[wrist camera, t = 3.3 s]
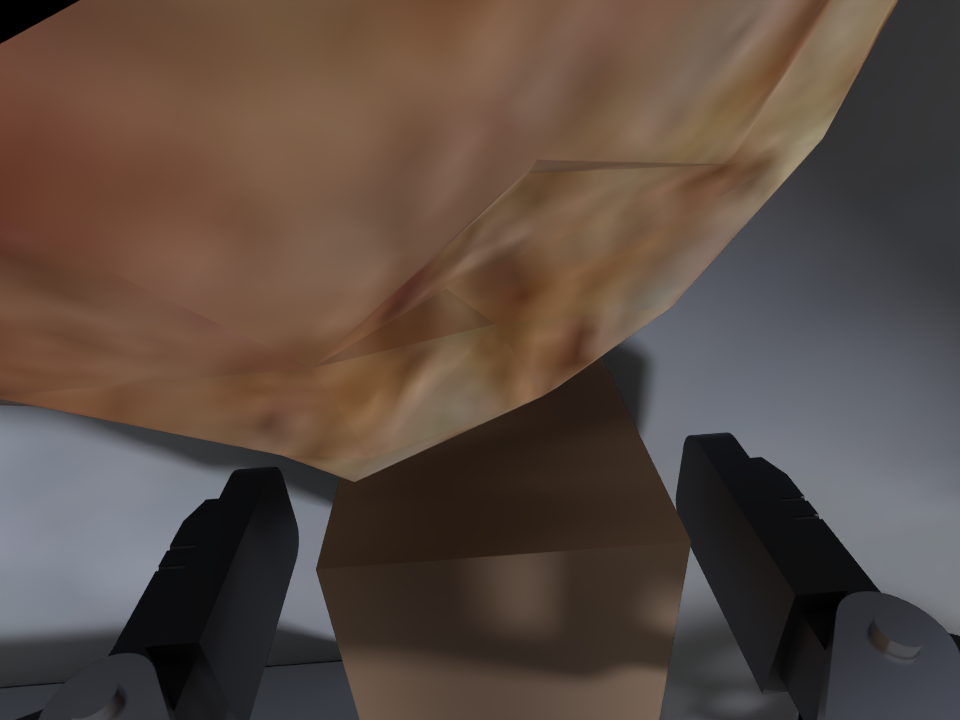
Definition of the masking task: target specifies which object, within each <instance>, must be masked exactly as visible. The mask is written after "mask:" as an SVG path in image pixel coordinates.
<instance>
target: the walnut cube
mask: <svg viewBox="0 0 960 720" xmlns="http://www.w3.org/2000/svg"><path fill="white" fill-rule="evenodd" d="M690 546H691V540H690V538H689V536H688V534H687V532H686V530H685V528H684V526H683V523H682V521H681V519H680V517H679V515H678V513H677V511H676V509H675V507H674V505H673V503H672V501H671V499H670V497H669V495H668V493H667V490H666V488H665V486H664V484H663V482H662V480H661V478H660V476H659V474H658V472H657V470H656V468H655V466H654V464H653V462H652V459H651V457H650V455H649V453H648V451H647V449H646V447H645V445H644V443H643V441H642V439H641V437H640V435H639V433H638V431H637V429H636V426H635V424H634V422H633V420H632V418H631V416H630V414H629V412H628V410H627V408H626V406H625V404H624V402H623V400H622V398H621V396H620V393H619V391H618V389H617V387H616V385H615V383H614V381H613V379H612V377H611V375H610V373H609V371H608V369H607V367H606V365H605V363H604V360H603V358H602V356H601V357H600V358H598V359H597V360H595V361H594V362H593V363H591V364H590V365H588V366H587V367H585V368H584V369H583V370H581V371H580V372H578V373H577V374H575V375H574V376H573V377H571V378H570V379H568V380H567V381H566V382H564V383H563V384H561V385H560V386H558V387H557V388H555V389H553V390H552V391H550V392H548V393H547V394H545V395H544V396H542V397H540V398H537V399H535V400H533V401H531V402H529V403H526V404H524V405H522V406H520V407H518V408H516V409H513V410H511V411H509V412H507V413H505V414H502V415H500V416H498V417H496V418H494V419H491V420H489V421H487V422H485V423H483V424H480V425H478V426H476V427H474V428H472V429H470V430H467V431H465V432H463V433H461V434H459V435H456V436H454V437H452V438H450V439H448V440H445V441H443V442H441V443H439V444H437V445H435V446H432V447H430V448H428V449H426V450H424V451H421V452H419V453H417V454H415V455H413V456H410V457H408V458H406V459H404V460H402V461H399V462H397V463H395V464H393V465H391V466H389V467H386V468H384V469H382V470H380V471H378V472H375V473H373V474H371V475H369V476H367V477H364V478H362V479H360V480H358V481H356V482H353V481H350V480H348V479H345V478H342V477H340V479H339V483H338V487H337V491H336V495H335V498H334V502H333V506H332V510H331V514H330V517H329V521H328V525H327V529H326V533H325V537H324V540H323V544H322V548H321V552H320V556H319V560H318V563H317V567H316V571H317V575H318V578H319V582H320V585H321V589H322V592H323V595H324V599H325V602H326V606H327V609H328V613H329V616H330V619H331V623H332V626H333V630H334V633H335V637H336V640H337V643H338V647H339V650H340V654H341V657H342V661H343V664H344V667H345V671H346V674H347V678H348V681H349V685H350V688H351V691H352V695H353V698H354V702H355V705H356V709H357V712H358V715H359V719H360V720H659V717H660V712H661V706H662V701H663V695H664V689H665V684H666V678H667V673H668V667H669V662H670V656H671V651H672V645H673V640H674V634H675V629H676V623H677V618H678V612H679V607H680V601H681V595H682V590H683V584H684V579H685V573H686V568H687V562H688V557H689V551H690Z"/></svg>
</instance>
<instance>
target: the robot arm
mask: <svg viewBox="0 0 960 720" xmlns="http://www.w3.org/2000/svg"><path fill="white" fill-rule="evenodd" d="M676 509H677V513H678V515H679V517H680V519H681V521H682V523H683V526H684V528H685V530H686V532H687V534H688V536H689V538H690V540H691V548H692V551H693V553H694V555H695V557H696V559H697V561H698V563H699V565H700V567H701V569H702V571H703V573H704V575H705V577H706V579H707V581H708V583H709V585H710V587H711V589H712V592H713V594H714V596H715V598H716V600H717V602H718V604H719V606H720V608H721V610H722V612H723V614H724V616H725V618H726V620H727V622H728V624H729V626H730V628H731V630H732V633H733V635H734V637H735V639H736V641H737V643H738V645H739V647H740V649H741V651H742V653H743V655H744V657H745V659H746V661H747V663H748V665H749V667H750V669H751V671H752V674H753V676H754V678H755V680H756V682H757V684H758V686H759V688H760V690H761V692H762V694H764V693H776V692H788V693H789V695H790V696H791V698H792V700H793V702H794V704H795V706H796V708H797V711H796V713H795V716H794V720H960V636H958V635H954V634H950V633H948V632H947V631H946V630H945V629H944V627H943V626H941V625H940V624H939V623H938V622H937V621H936V620H935V619H934V618H933V617H931V616H930V615H929V614H927V613H926V612H925V611H923V610H921V609H920V608H918V607H917V606H915V605H913V604H911V603H909V602H907V601H905V600H903V599H900V598H898V597H895V596H892V595H889V594H885V593H881V592H880V591H879V590H878V588H877V587H876V586H875V585H874V583H873V582H872V581H871V580H870V578H869V577H868V576H867V575H866V573H865V572H864V571H863V570H862V568H861V567H860V566H859V565H858V563H857V562H856V561H855V559H854V558H853V557H852V556H851V554H850V553H849V552H848V551H847V549H846V548H845V547H844V546H843V544H842V543H841V542H840V541H839V539H838V538H837V537H836V536H835V534H834V533H833V532H832V531H831V529H830V528H829V527H828V526H827V524H826V523H825V522H824V520H823V519H819V514H818V513H817V512H816V510H815V509H814V508H813V507H812V505H811V504H810V503H809V502H808V501H805V499H804V495H803V494H802V493H801V492H800V490H799V489H798V488H797V487H796V485H795V484H794V483H793V481H792V480H791V479H790V478H789V476H788V475H787V474H785V473H784V472H782V471H781V470H779V469H778V468H777V467H775V466H774V465H772V464H771V463H769V462H768V461H766V460H765V459H763V458H762V457H757V458H750V457H749V456H748V455H747V453H746V452H745V451H744V449H743V448H742V447H741V445H740V444H739V442H738V441H737V440H736V438H735V437H734V436H733V435H732V434H730V433H714V434H701V435H690V436H688V437H687V438H686V439H685V442H684V447H683V454H682V460H681V466H680V473H679V479H678V486H677V492H676ZM298 546H299V533H298V526H297V522H296V519H295V515H294V512H293V509H292V505H291V502H290V499H289V495H288V492H287V489H286V485H285V482H284V479H283V475H282V473H281V471H280V469H279V468H278V467H263V468H250V469H238V470H235V471H234V472H233V473H232V474H231V476H230V478H229V480H228V482H227V484H226V486H225V488H224V490H223V492H222V494H221V496H220V498H219V499H208V500H205V501H204V502H203V503H202V504H201V505H200V506H199V507H198V508H197V509H196V510H195V511H194V512H193V513H192V514H191V515H189V516H188V517H187V518H186V519H185V520H184V521H183V523H182V525H181V526H180V528H179V530H178V532H177V534H176V535H175V537H174V539H173V541H172V543H171V545H170V550H169V551H167V552H166V554H165V555H164V557H163V559H162V561H161V563H160V564H159V570H158V571H156V572H155V573H154V575H153V577H152V579H151V581H150V582H149V584H148V586H147V588H146V590H145V591H144V593H143V595H142V597H141V599H140V600H139V602H138V604H137V606H136V608H135V610H134V611H133V613H132V615H131V617H130V619H129V620H128V622H127V624H126V626H125V628H124V629H123V631H122V633H121V635H120V637H119V638H118V640H117V642H116V644H115V646H114V647H113V649H112V651H111V653H110V654H109V656H108V657H106V658H103V659H100V660H98V661H96V662H94V663H92V664H90V665H89V666H87V667H85V668H84V669H82V670H80V671H79V672H78V673H76V674H75V675H74V676H72V677H71V678H70V679H69V680H68V681H67V682H65V683H64V684H63V685H62V686H61V687H60V688H59V689H58V690H57V692H56V693H55V694H54V695H53V696H52V697H51V699H50V700H49V701H48V703H47V704H46V706H45V708H44V709H42V710H39V711H37V712H34V713H32V714H29V715H26V716H24V717H21V718H18V719H16V720H250V716H251V713H252V709H253V706H254V703H255V699H256V696H257V692H258V689H259V685H260V682H261V679H262V675H263V672H264V668H265V665H266V662H267V658H268V655H269V651H270V648H271V644H272V641H273V638H274V634H275V631H276V627H277V624H278V620H279V617H280V614H281V610H282V607H283V603H284V600H285V597H286V593H287V590H288V586H289V583H290V579H291V576H292V573H293V569H294V566H295V562H296V559H297V554H298Z"/></svg>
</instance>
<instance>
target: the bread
mask: <svg viewBox="0 0 960 720" xmlns="http://www.w3.org/2000/svg"><path fill="white" fill-rule="evenodd" d="M897 2H898V0H0V405H14V406H39V407H44V408H49V409H54V410H59V411H64V412H69V413H74V414H79V415H84V416H89V417H94V418H99V419H104V420H109V421H114V422H119V423H124V424H129V425H134V426H139V427H144V428H148V429H153V430H158V431H163V432H168V433H173V434H178V435H183V436H188V437H193V438H198V439H203V440H208V441H213V442H218V443H223V444H228V445H233V446H238V447H243V448H248V449H253V450H258V451H263V452H268V453H273V454H278V455H282V456H285V457H288V458H290V459H293V460H296V461H298V462H301V463H304V464H307V465H309V466H312V467H315V468H318V469H320V470H323V471H326V472H329V473H331V474H334V475H337V476H339V477H342V478H345V479H348V480H350V481H353V482H356V481H358V480H360V479H362V478H364V477H367V476H369V475H371V474H373V473H375V472H378V471H380V470H382V469H384V468H386V467H389V466H391V465H393V464H395V463H397V462H399V461H402V460H404V459H406V458H408V457H410V456H413V455H415V454H417V453H419V452H421V451H424V450H426V449H428V448H430V447H432V446H435V445H437V444H439V443H441V442H443V441H445V440H448V439H450V438H452V437H454V436H456V435H459V434H461V433H463V432H465V431H467V430H470V429H472V428H474V427H476V426H478V425H480V424H483V423H485V422H487V421H489V420H491V419H494V418H496V417H498V416H500V415H502V414H505V413H507V412H509V411H511V410H513V409H516V408H518V407H520V406H522V405H524V404H526V403H529V402H531V401H533V400H535V399H537V398H540V397H542V396H544V395H545V394H547V393H548V392H550V391H552V390H553V389H555V388H557V387H558V386H560V385H561V384H563V383H564V382H566V381H567V380H568V379H570V378H571V377H573V376H574V375H575V374H577V373H578V372H580V371H581V370H583V369H584V368H585V367H587V366H588V365H590V364H591V363H593V362H594V361H595V360H597V359H598V358H600V357H601V356H602V355H604V354H605V353H607V352H608V351H610V350H611V349H612V348H614V347H615V346H617V345H618V344H620V343H621V342H622V341H624V340H625V339H627V338H628V337H630V336H631V335H632V334H634V333H635V332H637V331H638V330H639V329H641V328H642V327H644V326H645V325H647V324H648V323H649V322H651V321H652V320H654V319H655V318H657V317H658V316H659V315H661V314H662V313H664V312H665V311H667V310H668V309H669V308H671V307H672V306H673V305H674V303H675V302H676V301H677V300H678V299H679V298H680V297H681V296H682V295H683V293H684V292H685V291H686V290H687V289H688V288H689V287H690V286H691V285H692V283H693V282H694V281H695V280H696V279H697V278H698V277H699V276H700V274H701V273H702V272H703V271H704V270H705V269H706V268H707V267H708V266H709V264H710V263H711V262H712V261H713V260H714V259H715V258H716V257H717V256H718V254H719V253H720V252H721V251H722V250H723V249H724V248H725V247H726V246H727V244H728V243H729V242H730V241H731V240H732V239H733V238H734V237H735V236H736V234H737V233H738V232H739V231H740V230H741V229H742V228H743V227H744V226H745V224H746V223H747V222H748V221H749V220H750V219H751V218H752V217H753V216H754V214H755V213H756V212H757V211H758V210H759V209H760V208H761V207H762V206H763V204H764V203H765V202H766V201H767V200H768V199H769V198H770V197H771V196H772V194H773V193H774V192H775V191H776V190H777V189H778V188H779V187H780V186H781V184H782V183H783V182H784V181H785V180H786V179H787V178H788V177H789V176H790V174H791V173H792V172H793V171H794V170H795V169H796V168H797V167H798V166H799V164H800V163H801V162H802V161H803V160H804V159H805V158H806V157H807V155H808V154H809V153H810V152H811V151H812V150H813V149H814V148H815V147H816V145H817V144H818V143H819V142H820V141H821V140H822V139H823V137H824V135H825V133H826V132H827V130H828V128H829V126H830V124H831V122H832V121H833V119H834V117H835V115H836V113H837V111H838V110H839V108H840V106H841V104H842V102H843V100H844V99H845V97H846V95H847V93H848V91H849V90H850V88H851V86H852V84H853V82H854V80H855V79H856V77H857V75H858V73H859V71H860V69H861V68H862V66H863V64H864V62H865V60H866V58H867V57H868V55H869V53H870V51H871V49H872V47H873V46H874V44H875V42H876V40H877V38H878V36H879V35H880V33H881V31H882V29H883V27H884V26H885V24H886V22H887V20H888V18H889V16H890V15H891V13H892V11H893V9H894V7H895V5H896V4H897Z"/></svg>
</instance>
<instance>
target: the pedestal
mask: <svg viewBox="0 0 960 720" xmlns="http://www.w3.org/2000/svg"><path fill="white" fill-rule="evenodd" d="M63 684H64V683H63ZM63 684H50V685H38V686H25V687H13V688H0V720H16V719H18V718H21V717H24V716H26V715H29V714H32V713H34V712H37V711H39V710H42V709H44V708H45V706H46V704H47V703H48V701H49V700H50V699H51V697H52V696H53V695H54V694H55V693H56V692H57V690H58V689H59V688H60V687H61V686H62V685H63ZM250 720H360V719H359V715H358V712H357V709H356V705H355V702H354V698H353V695H352V691H351V688H350V685H349V681H348V678H347V674H346V671H345V667H344V664H343V661H340V662H327V663H315V664H302V665H289V666H277V667H265V668H264V672H263V675H262V679H261V682H260V685H259V689H258V692H257V696H256V699H255V703H254V706H253V709H252V713H251V716H250Z"/></svg>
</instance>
